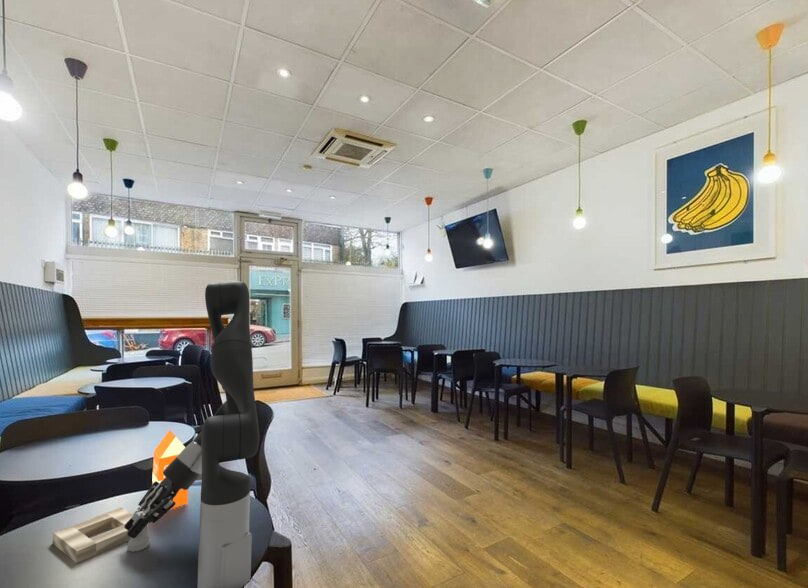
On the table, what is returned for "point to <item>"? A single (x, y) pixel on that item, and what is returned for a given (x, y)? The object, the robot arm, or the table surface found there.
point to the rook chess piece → (139, 535)
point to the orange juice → (162, 459)
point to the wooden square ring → (83, 547)
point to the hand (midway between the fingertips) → (129, 532)
